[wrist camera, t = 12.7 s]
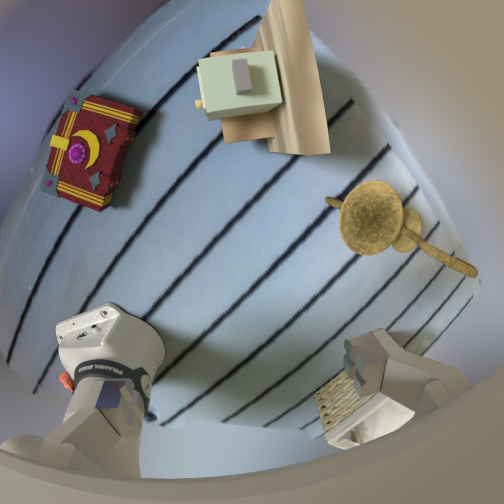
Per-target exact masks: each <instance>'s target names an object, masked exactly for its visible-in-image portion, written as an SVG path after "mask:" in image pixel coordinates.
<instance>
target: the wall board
mask: <svg viewBox="0 0 504 504" xmlns="http://www.w3.org/2000/svg"><path fill="white" fill-rule="evenodd" d="M260 51H273V54H274V59H275V64H276V70H277V75H278V81H279V86H280V92H281V98H282V103H281V104H279V105H277V106H276V107H274V108H273V109H271V110H270V111H268V112H265V113H257V114H250V115H242V116H236V117H229V118H223V119H221V123H222V129H223V135H224V141H225V144H229V143H235V142H241V141H247V140H254V139H261V138H266V140H267V146H268V152H278V153H289V154H299V155H317V154H326V153H331V152H330V143H329V136H328V128H327V121H326V115H325V108H324V102H323V96H322V90H321V84H320V79H319V74H318V68H317V63H316V58H315V54H314V49H313V44H312V40H311V36H310V31H309V27H308V23H307V19H306V15H305V11H304V7H303V4H302V0H271V2H270V4H269V7H268V9H267V11H266V14H265V16H264V18H263V21H262V23H261V25H260V28H259V30H258V33H257V35H256V37H255V40H254V42H253V45H252V47H251V48H245V49H235V50H227V51H220V52H214V53H210V57H216V56H223V55H231V54H239V53H248V52H260Z"/></svg>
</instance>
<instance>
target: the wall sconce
mask: <svg viewBox="0 0 504 504" xmlns="http://www.w3.org/2000/svg"><path fill="white" fill-rule="evenodd" d="M325 202H326V203H327V204H329V205H331V206H333V207H335V208H337V209H340V210H341V211H340V216H339V229H340V233H341V236H342V239H343V241H344V242H345V244H346V245H347V246H348V247H349V248H350V249H351V250H352V251H354V252H355V253H358V254H361V255H374V254H377V253H380V252H382V251H383V250H385V249H386V248H388V247H389V246H390V245H391V244H392V246H393V247H394V249H395V250H397V251H398V252H402V253H404V252H408V251H410V250H411V249H412V248H413V247H414V246H415V245H416V244H417V245H418V246H419V247H420V248H421V249H422V250H423V251H424V252H425V253H427V254H428V255H430V256H431V257H433V258H435V259H436V260H438V261H440V262H442V263H443V264H445V265H447V266H449V267H451V268H453V269H455V270H456V271H458V272H460V273H462V274H465V275H467V276H469V277H472V278H475V277H476V276H477V275H478V270H477V269H476V268H475V267H474V266H472V265H470V264H469V263H467V262H465V261H463V260H461V259H459V258H457V257H455V258H454V257H452V256H450V255H448V254H446V253H444V252H443V251H441V250H439V249H437V248H435V247H434V246H432V245H430V244H429V243H427V242H426V241H425V240H423V239H422V238H421V237H420V234H421V229H422V223H421V218H420V216H419V214H418V213H417V212H416V211H414V210H412V209H406V210H404V211H403V207H402V202H401V200H400V197H399V195H398V194H397V192H396V191H395V190H394V189H393V188H392V187H391V186H390V185H388V184H386V183H384V182H381V181H368V182H365V183H362V184H360V185H359V186H357V187H356V188H354V189H353V190H352V191H351V192H350V193H349V195H348V196H347V197H346V199H345V201H341V200H338V199H335V198H332V197H326V198H325Z"/></svg>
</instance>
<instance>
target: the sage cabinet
mask: <svg viewBox="0 0 504 504" xmlns="http://www.w3.org/2000/svg"><path fill="white" fill-rule="evenodd" d="M198 61H199V67H197V72H198V78H199V85H200V91H201V97H202V99H199V100H195V104H196V109H201V108H203V109H204V112H205V116H208V120H209V121H212V120H217V119H223V118H229V117H236V116H242V115H250V114H257V113H265V112H268V111H270V110H271V109H273V108H274V107H276V106H277V105H279V104H281V103H282V98H281V92H280V86H279V81H278V75H277V70H276V64H275V59H274V54H273V51H260V52H248V53H239V54H231V55H223V56H216V57H210V58H204V59H199V60H198Z"/></svg>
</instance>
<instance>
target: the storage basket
mask: <svg viewBox="0 0 504 504" xmlns="http://www.w3.org/2000/svg"><path fill="white" fill-rule="evenodd" d="M389 336H390V335H389ZM390 337H391V336H390ZM391 338H392V337H391ZM392 339H393V338H392ZM393 341H394V342H395V343H396V344H397V345H398V347H399V348H400V349H401V350H402V351H403V352H405V350H404V349H403V348H402V347H401V346H400V345H399V344H398V343H397V342H396V341H395V340H393ZM353 385H354V380H352V379H349V377H348V375H347V373H346V371H345V369H344V370H343V371H341V372H340V373H339V374H338V375H337V376H336V377H335V378H333V379H332V380H330V382H328V383H327V384H326V385H325V386H323V387H322V388H321V389H320V390H318V391H317V392H316V393H315V394H314V398H315V401H316V405H317V408H318V411H319V415H320V418H321V421H322V425H323V431H324V433H325V438H326V440H327V442H328V444H330V445H333V446H335V447H338V448H341V449H345V450H346V449H349V448H352V447H355V446H357V445H360V444H363V443H366V442H368V441H371V440H373V439H376V438H378V437H381V436H383V435H386V434H388V433H390V432H393V431H395V430H397V429H398V428H400V427H401V426H402V425H403V424H404V423H406V422H407V421H408V420H410V419H411V418H412V417H413V416H414V414H415V412H414V411H412V410H410V409H408V408H406V407H405V406H403V405H401V404H399V403H398V402H396V401H394V400H392V399H391V398H389V397H387V396H385V395H384V394H382V393H380V392H377V393H374V394H372V395H369V396H366V397H363V398H360V397H359V396H358V394H357V392H356V390H355V388H354V387H353ZM346 432H348V433H349V435H350V438H351V440H352V441H351V440H347V439H345V438H343V437H342V436H343V435H344V434H345V433H346Z"/></svg>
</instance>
